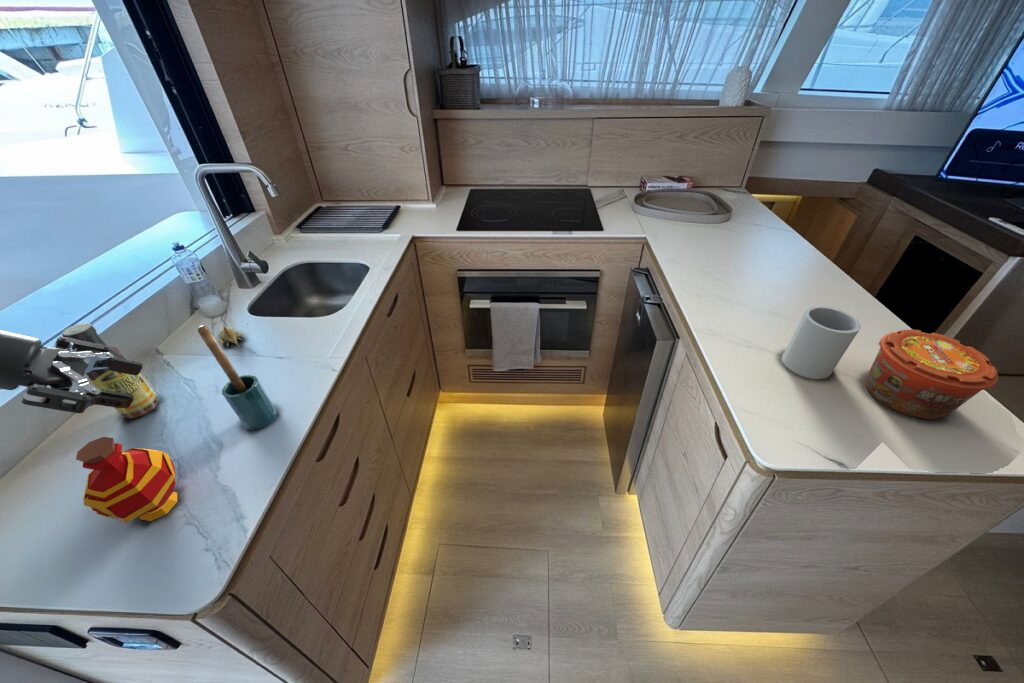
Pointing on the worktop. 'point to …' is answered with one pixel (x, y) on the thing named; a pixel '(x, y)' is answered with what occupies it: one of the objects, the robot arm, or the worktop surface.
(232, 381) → the stick grenade
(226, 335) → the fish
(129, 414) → the sauce bottle
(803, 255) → the worktop surface
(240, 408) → the teal cylindrical holder
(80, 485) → the worktop surface
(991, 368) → the food container
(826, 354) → the cup
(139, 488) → the potion bottle
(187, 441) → the worktop surface
